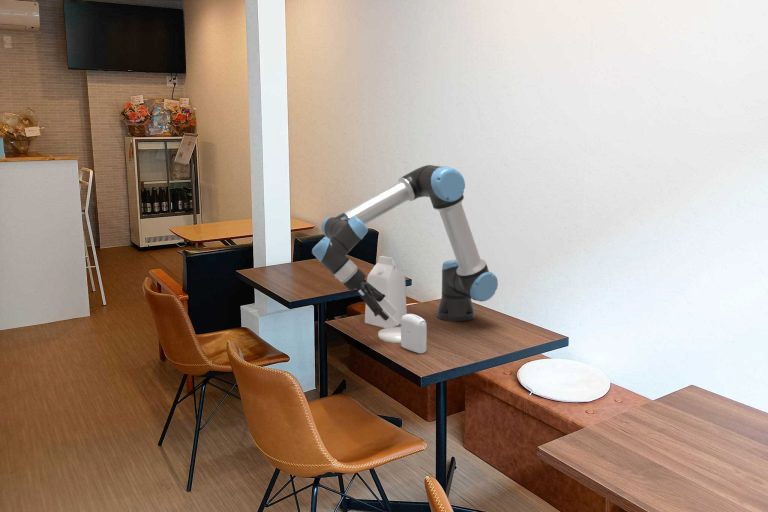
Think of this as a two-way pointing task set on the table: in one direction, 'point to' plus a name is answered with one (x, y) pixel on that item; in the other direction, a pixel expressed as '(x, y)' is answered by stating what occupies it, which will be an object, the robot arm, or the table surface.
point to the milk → (387, 290)
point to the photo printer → (413, 333)
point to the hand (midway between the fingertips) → (394, 319)
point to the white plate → (390, 334)
